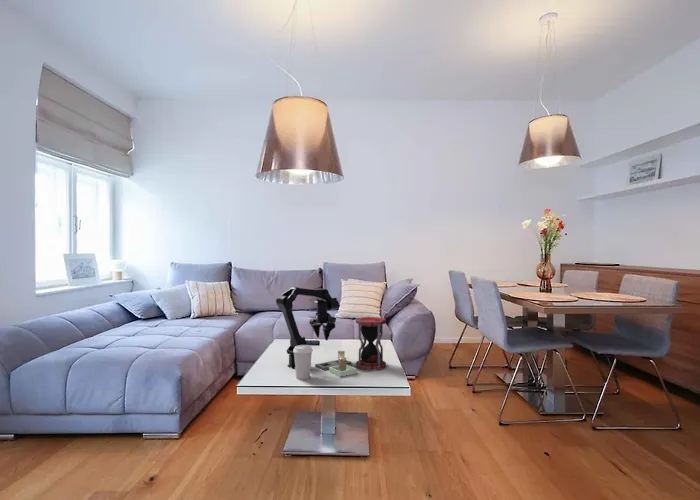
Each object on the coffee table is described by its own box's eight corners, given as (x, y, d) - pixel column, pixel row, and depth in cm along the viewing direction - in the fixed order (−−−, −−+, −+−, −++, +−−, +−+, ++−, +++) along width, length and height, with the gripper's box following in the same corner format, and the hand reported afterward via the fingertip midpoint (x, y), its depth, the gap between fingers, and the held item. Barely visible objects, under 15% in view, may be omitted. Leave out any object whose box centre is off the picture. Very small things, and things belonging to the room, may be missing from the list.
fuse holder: (323, 370, 212) (323, 367, 212) (315, 366, 218) (315, 364, 218) (351, 364, 222) (351, 362, 222) (343, 361, 229) (343, 358, 229)
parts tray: (340, 377, 201) (340, 371, 201) (328, 372, 209) (328, 367, 209) (356, 373, 207) (356, 368, 207) (345, 368, 215) (345, 363, 215)
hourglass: (367, 372, 209) (366, 323, 209) (350, 364, 223) (349, 318, 222) (392, 367, 217) (392, 320, 217) (374, 360, 231) (374, 315, 231)
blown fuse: (341, 373, 206) (341, 359, 206) (337, 371, 209) (337, 357, 209) (347, 371, 208) (347, 358, 208) (343, 370, 211) (343, 356, 211)
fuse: (340, 365, 221) (340, 352, 221) (336, 364, 224) (336, 351, 224) (346, 364, 223) (345, 351, 223) (342, 362, 226) (342, 350, 226)
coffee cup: (296, 381, 194) (296, 350, 194) (290, 376, 203) (290, 345, 203) (315, 379, 198) (315, 348, 198) (309, 373, 207) (309, 343, 207)
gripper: (343, 311, 229) (343, 339, 229) (325, 307, 244) (325, 334, 244) (326, 313, 222) (326, 342, 222) (309, 309, 237) (309, 336, 237)
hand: (322, 338), depth 232 cm, fingers open, 9 cm apart
